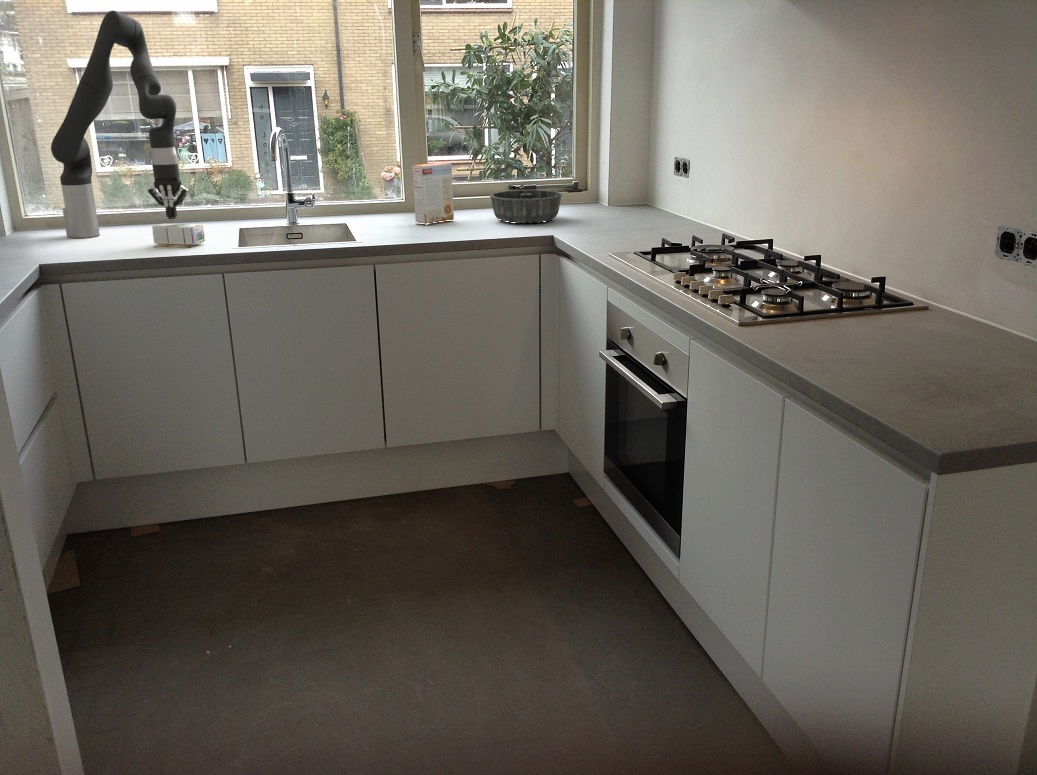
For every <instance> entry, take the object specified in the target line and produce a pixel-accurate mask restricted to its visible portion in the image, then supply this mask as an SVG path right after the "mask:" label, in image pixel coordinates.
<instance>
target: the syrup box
mask: <svg viewBox="0 0 1037 775" xmlns="http://www.w3.org/2000/svg"><path fill="white" fill-rule="evenodd" d="M151 227H152V237H153V243H154V244H155V245H157V244H189V245H195V246H197V245H199V243H200V244H201V243H204V241H205V242H206V239H205V232H204V231H205V230H204V226H203V224H196V223H195V224H194V223H193V224H191V223H186V224H185V223H159V224H156V225H152V226H151ZM196 244H197V245H196Z"/></svg>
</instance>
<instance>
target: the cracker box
mask: <svg viewBox="0 0 1037 775" xmlns="http://www.w3.org/2000/svg"><path fill="white" fill-rule="evenodd" d="M452 168H453V164H452V162H451V163H450V162H435V163H423V164H415V165H412V180H413V194H414V195H413V196H414V213H415V214H414V216H415V217H414V218H415V223H416V222H418V223H425V224H426V223H433V222H439V221H446V220H453V219H454V220H455V218H454V216H455V214H454V212H455V211H454V189H453V169H452Z"/></svg>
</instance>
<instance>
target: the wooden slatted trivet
mask: <svg viewBox="0 0 1037 775" xmlns="http://www.w3.org/2000/svg"><path fill="white" fill-rule="evenodd" d="M191 246H193V245H189V244H155V245H153V248H154V247H190V248H192V247H191ZM193 247H194V246H193Z"/></svg>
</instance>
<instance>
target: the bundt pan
mask: <svg viewBox="0 0 1037 775" xmlns="http://www.w3.org/2000/svg"><path fill="white" fill-rule="evenodd" d="M562 196H563V192H559V191H555V190H549V189H545V190H543V189H516V190H515V189H511V190H503V191H497V192H492V193H491V194H490V195H489V198H490V199H491V204H492V205H491V206H492V210H493V214H494V216H495V217H496V219H497V220H499V219H501V220H502V221H501V222H503V221H509V222H517V223H516V224H519V223H524V224H526V223H527V222H528V223H532V224H533V223H534V222H541V223H542V222H543V221H548V222H550V221H552V219H553V220H554V219H555V218H556V217H557V216H558V214H559V212H560V205H561V200H562V199H561V198H562ZM525 222H526V223H525ZM528 223H527V224H528Z"/></svg>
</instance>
